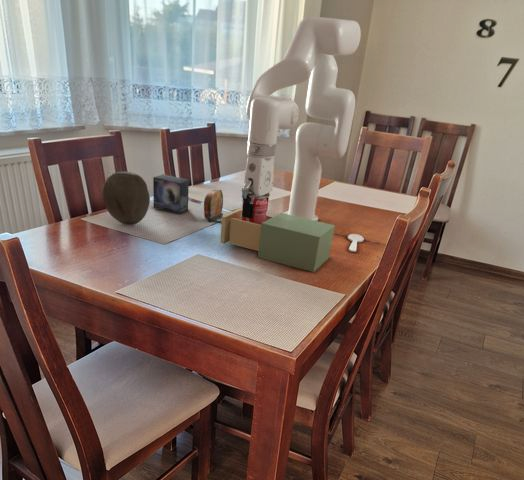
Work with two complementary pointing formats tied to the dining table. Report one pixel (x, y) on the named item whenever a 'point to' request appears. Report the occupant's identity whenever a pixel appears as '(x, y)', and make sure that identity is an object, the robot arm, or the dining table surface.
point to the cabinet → (295, 241)
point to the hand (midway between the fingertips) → (254, 213)
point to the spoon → (354, 241)
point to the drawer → (238, 230)
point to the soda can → (258, 210)
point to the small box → (170, 193)
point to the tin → (213, 203)
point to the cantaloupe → (126, 197)
